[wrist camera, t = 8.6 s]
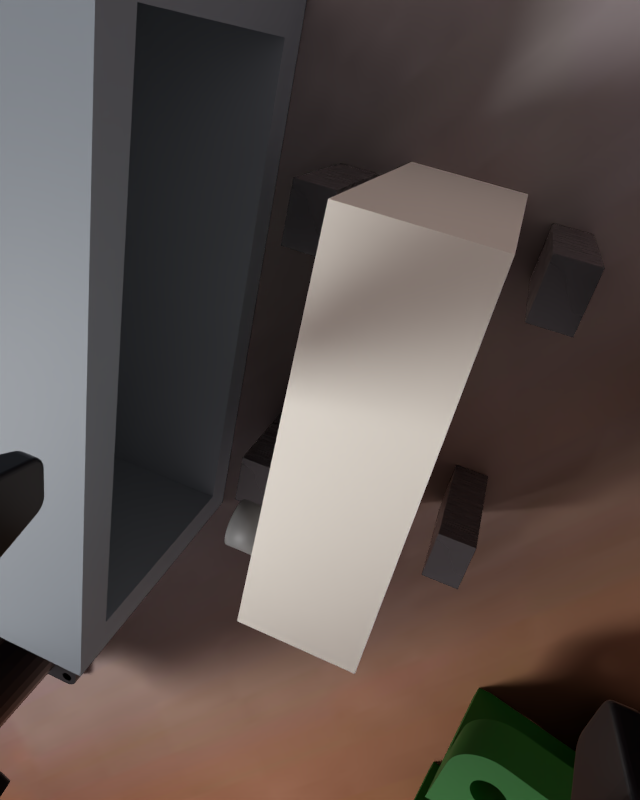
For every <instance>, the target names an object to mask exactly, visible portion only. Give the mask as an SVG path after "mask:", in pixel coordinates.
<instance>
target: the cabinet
mask: <svg viewBox="0 0 640 800" xmlns="http://www.w3.org/2000/svg"><path fill="white" fill-rule="evenodd" d="M306 1H307V0H0V454H4V453H8V452H13V451H22V452H25V453H27V454H30V455H32V456H34V457H37V458H39V459H40V460H41V461H42V463H43V466H44V501H43V504H42V507H41V509H40V510H39V512H38V513H37V515H36V516H35V517H34V518H33V519H32V521H31V522H30V523H29V524H28V525H27V527H26V528H25V529H24V530H23V531H22V533H21V534H20V535H19V536H18V537H17V539H16V540H15V541H14V542H13V543H12V545H11V546H10V547H9V548H8V549H7V551H6V552H5V553H4V554H3V555H2V556H1V558H0V637H1V638H3V639H5V640H7V641H9V642H11V643H13V644H15V645H17V646H19V647H22V648H24V649H26V650H28V651H30V652H32V653H34V654H36V655H38V656H40V657H42V658H44V659H46V660H48V661H50V662H52V663H54V664H56V665H58V666H60V667H62V668H64V669H66V670H68V671H71V672H73V673H75V674H77V675H79V676H81V675H82V674H83V673H84V671H85V670H86V669H87V668H88V666H89V665H90V664H91V663H92V662H93V660H94V659H95V658H96V657H97V655H98V654H99V653H100V652H101V651H102V649H103V648H104V647H105V646H106V644H107V643H108V642H109V641H110V640H111V638H112V637H113V636H114V635H115V633H116V632H117V631H118V630H119V629H120V627H121V626H122V625H123V624H124V622H125V621H126V620H127V619H128V617H129V616H130V615H131V614H132V613H133V611H134V610H135V609H136V608H137V606H138V605H139V604H140V603H141V602H142V600H143V599H144V598H145V597H146V595H147V594H148V593H149V592H150V591H151V589H152V588H153V587H154V586H155V584H156V583H157V582H158V581H159V580H160V578H161V577H162V576H163V575H164V573H165V572H166V571H167V570H168V568H169V567H170V566H171V565H172V564H173V562H174V561H175V560H176V559H177V557H178V556H179V555H180V554H181V553H182V551H183V550H184V549H185V548H186V546H187V545H188V544H189V543H190V542H191V540H192V539H193V538H194V537H195V535H196V534H197V533H198V532H199V531H200V529H201V528H202V527H203V526H204V524H205V523H206V522H207V521H208V519H209V518H210V517H211V516H212V515H213V513H214V512H215V511H216V510H217V508H218V507H219V506H220V505H221V504H222V502H223V496H224V490H225V484H226V478H227V472H228V466H229V460H230V454H231V448H232V442H233V436H234V430H235V424H236V418H237V412H238V406H239V400H240V394H241V388H242V382H243V376H244V370H245V364H246V358H247V353H248V347H249V341H250V335H251V329H252V323H253V317H254V311H255V305H256V299H257V293H258V287H259V281H260V275H261V269H262V263H263V257H264V251H265V245H266V239H267V233H268V227H269V221H270V215H271V209H272V203H273V197H274V192H275V186H276V180H277V174H278V168H279V162H280V156H281V150H282V144H283V138H284V132H285V126H286V120H287V114H288V108H289V102H290V96H291V90H292V84H293V78H294V72H295V66H296V60H297V54H298V48H299V42H300V36H301V31H302V25H303V19H304V13H305V7H306Z"/></svg>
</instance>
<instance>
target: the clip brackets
mask: <svg viewBox="0 0 640 800" xmlns="http://www.w3.org/2000/svg"><path fill="white" fill-rule="evenodd" d="M376 175H377V174H376V173H373V172H369V171H366V170H362V169H359V168H355V167H351V166H348V165H344V164H338V165H334V166H331V167H328V168H324V169H321V170H318V171H314V172H311V173H308V174H304V175H301V176H297V177H294V178H293V183H292V188H291V194H290V199H289V205H288V210H287V216H286V221H285V227H284V232H283V238H282V243H281V246H284V247H287V248H290V249H293V250H297V251H300V252H303V253H306V254H309V255H313V256H316V253H317V248H318V243H319V239H320V234H321V229H322V225H323V220H324V216H325V211H326V206H327V202H328V198H331V197H333V196H335V195H338V194H340V193H342V192H344V191H347V190H349V189H351V188H354V187H356V186H358V185H360V184H363V183H365V182H367V181H369V180H372V179H374V178H376ZM604 269H605V267H604V264H603V261H602V258H601V255H600V252H599V249H598V246H597V243H596V240H595V237H594V235H593V234H590V233H586V232H582V231H579V230H575V229H572V228H568V227H565V226H561V225H558V224H554V223H553V224H552V226H551V229H550V231H549V234H548V236H547V239H546V241H545V244H544V246H543V249H542V251H541V254H540V256H539V259H538V261H537V264H536V266H535V269H534V271H533V274H532V276H531V279H530V283H529V292H528V301H527V310H526V319H525V322H526V323H529V324H532V325H535V326H539V327H542V328H545V329H548V330H551V331H554V332H558V333H561V334H564V335H567V336H570V337H573V336H574V334H575V332H576V330H577V327H578V325H579V323H580V321H581V319H582V317H583V314H584V312H585V310H586V308H587V306H588V303H589V301H590V299H591V297H592V295H593V293H594V290H595V288H596V286H597V284H598V282H599V279H600V277H601V275H602V273H603V271H604ZM281 415H282V413H281V414H280V415H279V416H278V417H277V418H276V420H275V421H274V422H273V423H272V424H271V425H270V427H269V428H268V429H267V430H266V431H265V432H264V434H263V435H262V436H261V437H260V438H259V439H258V440H257V442H256V443H255V444H254V445H253V446H252V447H251V449H250V450H249V451H248V452H247V453H246V454H245V456H244V457H243V459H242V465H241V470H240V476H239V481H238V487H237V492H236V498H235V499H236V500H238V501H242V500H243V499H246V500H249V501H251V502H253V503H256V504H258V505H261V506H262V503H263V499H264V494H265V489H266V485H267V480H268V475H269V471H270V466H271V462H272V457H273V452H274V448H275V443H276V438H277V434H278V429H279V424H280V420H281ZM487 480H488V476H485V475H482V474H480V473H477V472H474V471H472V470H469V469H466V468H463V467H461V466H458V465H456V467H455V469H454V472H453V474H452V477H451V479H450V482H449V484H448V487H447V489H446V492H445V494H444V497H443V499H442V502H441V505H440V509H439V513H438V516H437V520H436V524H435V528H434V531H433V535H432V539H431V542H430V546H429V550H428V553H427V557H426V561H425V565H424V568H423V572H422V575H424V576H426V577H429V578H431V579H433V580H436V581H438V582H441V583H443V584H446V585H448V586H451V587H453V588H456V589H458V587H459V585H460V583H461V581H462V578H463V576H464V574H465V572H466V570H467V567H468V565H469V563H470V561H471V559H472V557H473V554H474V552H475V550H476V547H477V541H478V535H479V529H480V522H481V516H482V510H483V504H484V498H485V492H486V486H487Z"/></svg>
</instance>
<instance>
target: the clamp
mask: <svg viewBox="0 0 640 800" xmlns="http://www.w3.org/2000/svg"><path fill="white" fill-rule="evenodd" d="M575 755H576V752H575V751H574V750H572V749H571V748H570V747H568V746H567V745H565V744H564V743H562V742H561V741H559V740H558V739H556V738H555V737H554V736H552V735H551V734H549V733H548V732H546V731H545V730H543V729H542V728H541V727H539V726H538V725H536V724H535V723H533V722H532V721H530V720H529V719H528V718H526V717H525V716H523V715H522V714H520V713H519V712H517V711H516V710H514V709H513V708H512V707H510V706H509V705H507V704H506V703H504V702H503V701H501V700H500V699H499V698H497V697H496V696H494V695H493V694H491V693H490V692H487V691H485V690H483V689H481V688H479V689H478V690H477V692H476V694H475V695H474V697H473V699H472V701H471V703H470V705H469V707H468V709H467V711H466V713H465V716H464V718H463V720H462V722H461V724H460V726H459V728H458V730H457V732H456V734H455V736H454V738H453V740H452V742H451V744H450V746H449V748H448V751H447V753H446V755H445V757H444V759H443V761H442V763H441V765H440V766H439V765H438V764H437V763H435V762H433V764H432V765H431V767H430V769H429V771H428V773H427V775H426V777H425V779H424V781H423V783H422V785H421V787H420V789H419V791H418V793H417V795H416V797H415V799H414V800H571V793H572V783H573V774H574V764H575Z"/></svg>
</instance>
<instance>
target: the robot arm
mask: <svg viewBox="0 0 640 800" xmlns="http://www.w3.org/2000/svg"><path fill="white" fill-rule="evenodd" d="M43 501H44V466H43V463H42V461H41V460H40V459H39V458H37V457H34V456H32V455H30V454H27V453H25V452H22V451H13V452H8V453H4V454H0V558H1V556H2V555H3V554H4V553H5V552H6V551H7V549H8V548H9V547H10V546H11V545H12V543H13V542H14V541H15V540H16V539H17V537H18V536H19V535H20V534H21V533H22V531H23V530H24V529H25V528H26V527H27V525H28V524H29V523H30V522H31V521H32V519H33V518H34V517H35V516H36V515H37V513H38V512H39V510H40V509H41V507H42V504H43ZM47 674H50V675H52V676H54V677H56V678H58V679H60V680H62V681H64V682H66V683H68V684H74V683H75V682H76V681H77V680H78V679H79V677H80V676H79V675H77V674H75V673H73V672H71V671H68V670H66V669H64V668H62V667H60V666H58V665H56V664H54V663H52V662H50V661H48V660H46V659H44V658H42V657H40V656H38V655H36V654H34V653H32V652H30V651H28V650H26V649H24V648H22V647H19V646H17V645H15V644H13V643H11V642H9V641H7V640H5V639H3V638H1V637H0V727H1V726H2V725H3V724H4V723H5V722H6V720H7V719H8V718H9V717H10V716H11V715H12V714H13V713H14V711H15V710H16V709H17V708H18V707H19V706H20V705H21V703H22V702H23V701H24V700H25V699H26V698H27V697H28V695H29V694H30V693H31V692H32V691H33V690H34V689H35V687H36V686H37V685H38V684H39V683H40V682H41V681H42V679H43V678H44V677H45V676H46V675H47ZM9 782H10V780H9V779H8V778H7V777H6V776H5V775H4V774H3V773H2V772H0V796H1V795H2V793H3V792H4V790H5V789H6V787H7V786H8V784H9ZM571 800H640V712H638V711H637V710H635V709H633V708H631V707H628V706H626V705H623V704H621V703H619V702H616V701H614V700H607V701H605V702H604V703H603V704H602V705H601V706H600V708H599V709H598V710H597V712H596V713H595V714H594V716H593V717H592V719H591V720H590V721H589V723H588V724H587V725H586V727H585V728H584V730H583V731H582V733H581V735H580V737H579V740H578V743H577V747H576V755H575V764H574V774H573V783H572V793H571Z"/></svg>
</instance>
